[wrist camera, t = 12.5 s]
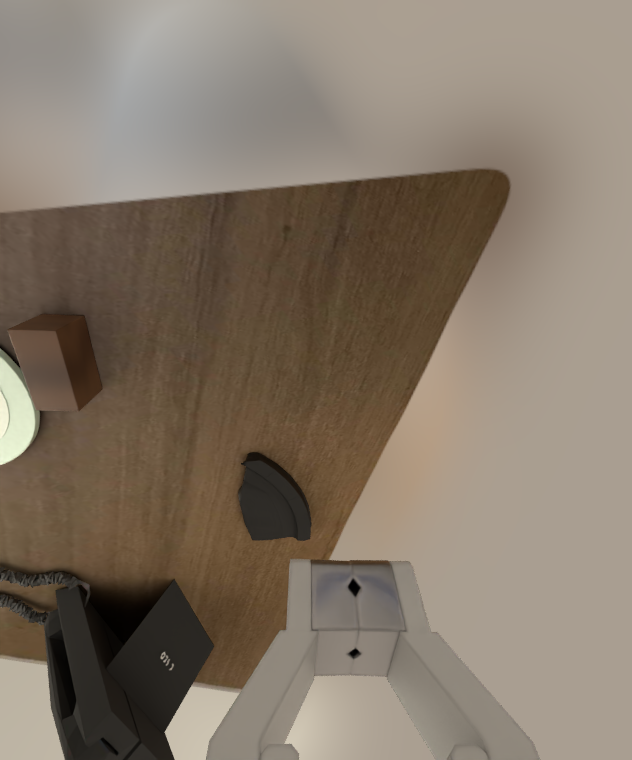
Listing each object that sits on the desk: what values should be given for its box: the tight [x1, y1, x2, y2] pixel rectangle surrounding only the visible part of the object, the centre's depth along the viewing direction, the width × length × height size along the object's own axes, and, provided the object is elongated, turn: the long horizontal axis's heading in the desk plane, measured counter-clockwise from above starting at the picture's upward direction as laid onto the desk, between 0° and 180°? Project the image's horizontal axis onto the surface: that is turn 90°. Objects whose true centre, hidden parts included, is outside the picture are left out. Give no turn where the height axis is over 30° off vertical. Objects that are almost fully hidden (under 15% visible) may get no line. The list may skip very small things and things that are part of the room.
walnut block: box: [8, 314, 102, 411], centre depth 35 cm, size 8×4×4 cm, turn 178°
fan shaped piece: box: [238, 453, 311, 541], centre depth 45 cm, size 8×14×2 cm, turn 6°
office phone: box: [0, 567, 214, 760], centre depth 47 cm, size 29×28×20 cm
